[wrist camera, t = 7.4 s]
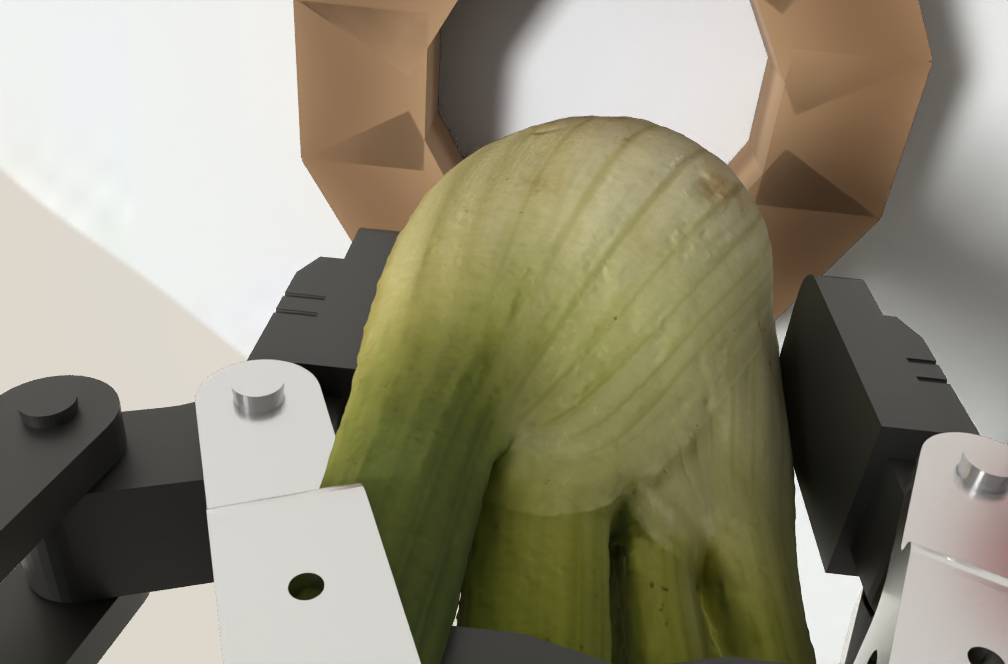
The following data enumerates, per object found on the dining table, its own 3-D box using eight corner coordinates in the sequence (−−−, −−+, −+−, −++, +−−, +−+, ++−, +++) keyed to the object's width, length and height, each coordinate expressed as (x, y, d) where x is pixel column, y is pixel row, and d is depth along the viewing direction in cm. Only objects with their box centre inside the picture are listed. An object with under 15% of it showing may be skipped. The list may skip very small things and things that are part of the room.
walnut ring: (981, -218, 19) (1025, -216, 17) (807, 346, 26) (823, 391, 24) (310, -278, 19) (279, -282, 17) (329, 295, 26) (309, 335, 25)
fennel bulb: (401, 142, 15) (35, 884, 5) (671, 0, 14) (913, 666, 4) (556, 392, 18) (516, 1221, 8) (799, 297, 16) (1153, 1178, 6)
